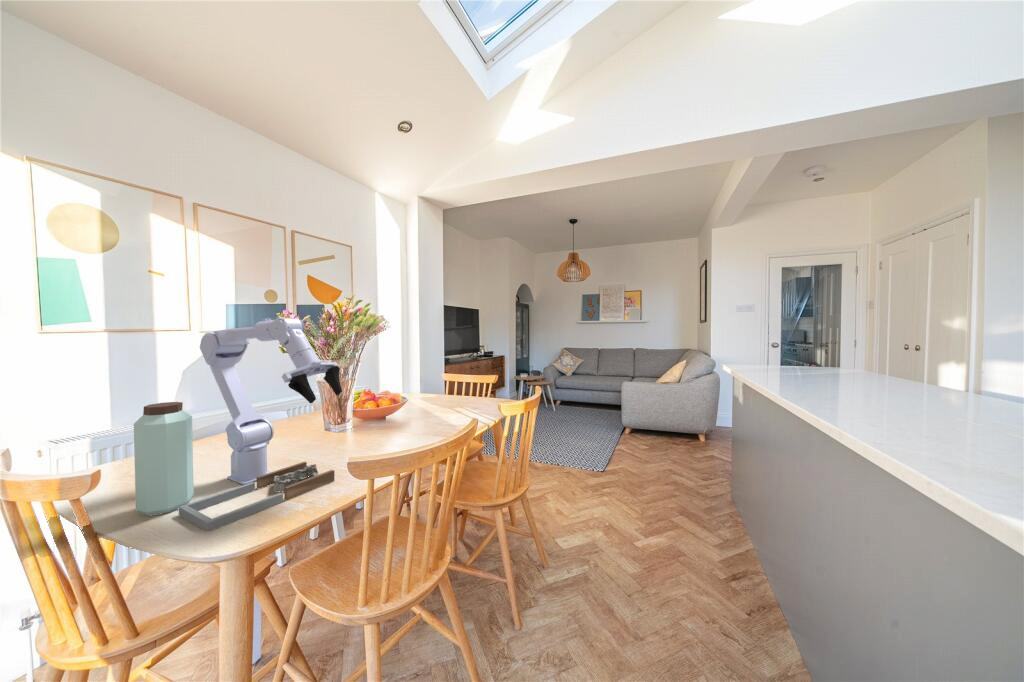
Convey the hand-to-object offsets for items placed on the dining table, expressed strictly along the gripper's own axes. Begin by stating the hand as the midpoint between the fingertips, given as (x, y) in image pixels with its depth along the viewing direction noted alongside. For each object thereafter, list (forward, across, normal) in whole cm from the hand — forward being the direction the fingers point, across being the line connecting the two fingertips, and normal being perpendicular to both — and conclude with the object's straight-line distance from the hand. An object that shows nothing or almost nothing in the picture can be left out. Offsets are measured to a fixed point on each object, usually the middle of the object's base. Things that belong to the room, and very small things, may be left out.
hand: (326, 397), depth 93 cm
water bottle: (+2, -26, +35) cm, 44 cm away
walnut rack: (+13, -4, +24) cm, 28 cm away
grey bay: (+12, -19, +23) cm, 32 cm away
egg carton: (+14, -4, +24) cm, 28 cm away
